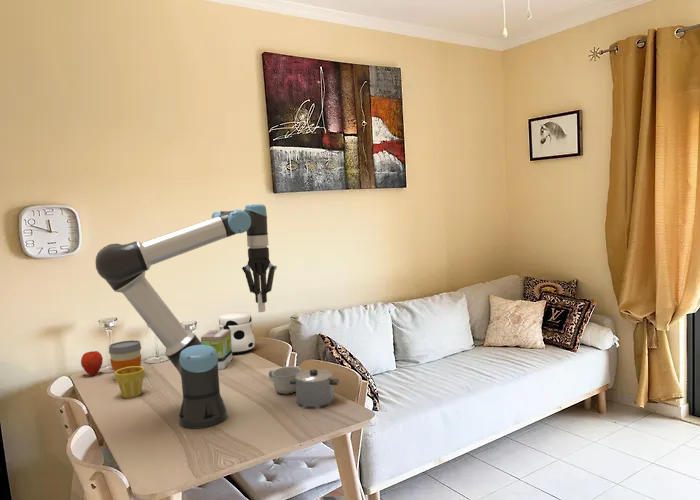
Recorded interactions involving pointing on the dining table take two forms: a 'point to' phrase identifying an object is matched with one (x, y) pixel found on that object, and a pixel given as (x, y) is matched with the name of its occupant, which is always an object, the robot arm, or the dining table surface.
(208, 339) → the tea box
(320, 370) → the lid
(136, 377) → the plant pot
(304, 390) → the cooker
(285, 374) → the teacup
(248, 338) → the milk container
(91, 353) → the apple
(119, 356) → the reusable coffee cup
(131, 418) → the dining table surface
